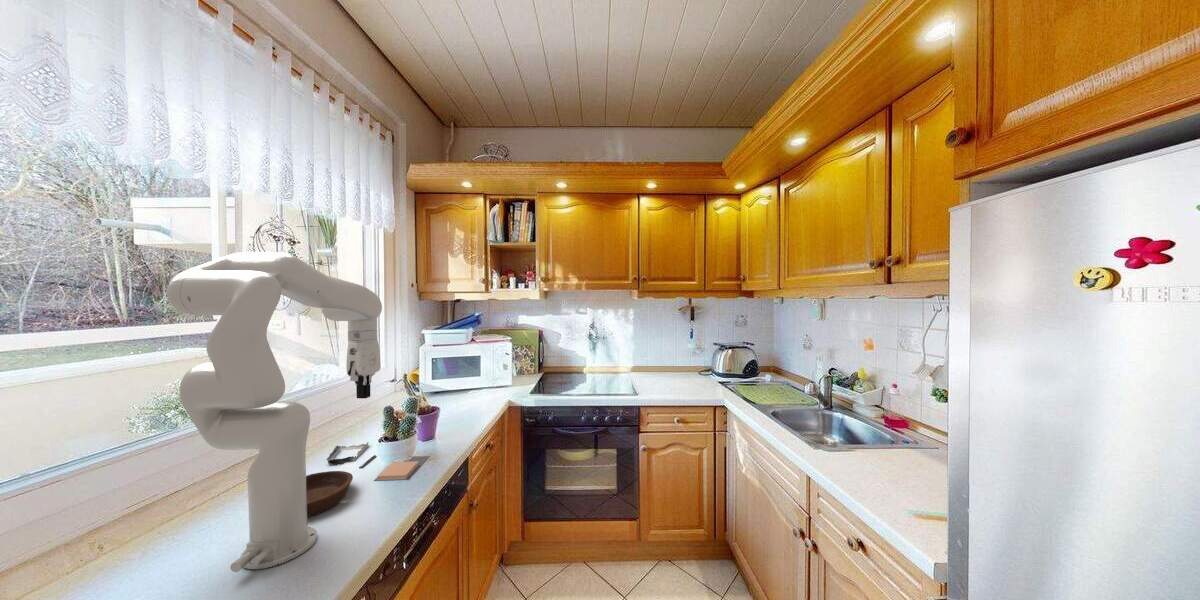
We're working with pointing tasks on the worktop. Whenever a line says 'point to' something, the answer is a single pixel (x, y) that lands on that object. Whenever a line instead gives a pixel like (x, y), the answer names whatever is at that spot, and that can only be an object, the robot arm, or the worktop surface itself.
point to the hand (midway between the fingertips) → (363, 397)
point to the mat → (421, 462)
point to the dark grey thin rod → (368, 461)
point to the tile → (398, 470)
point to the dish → (326, 490)
